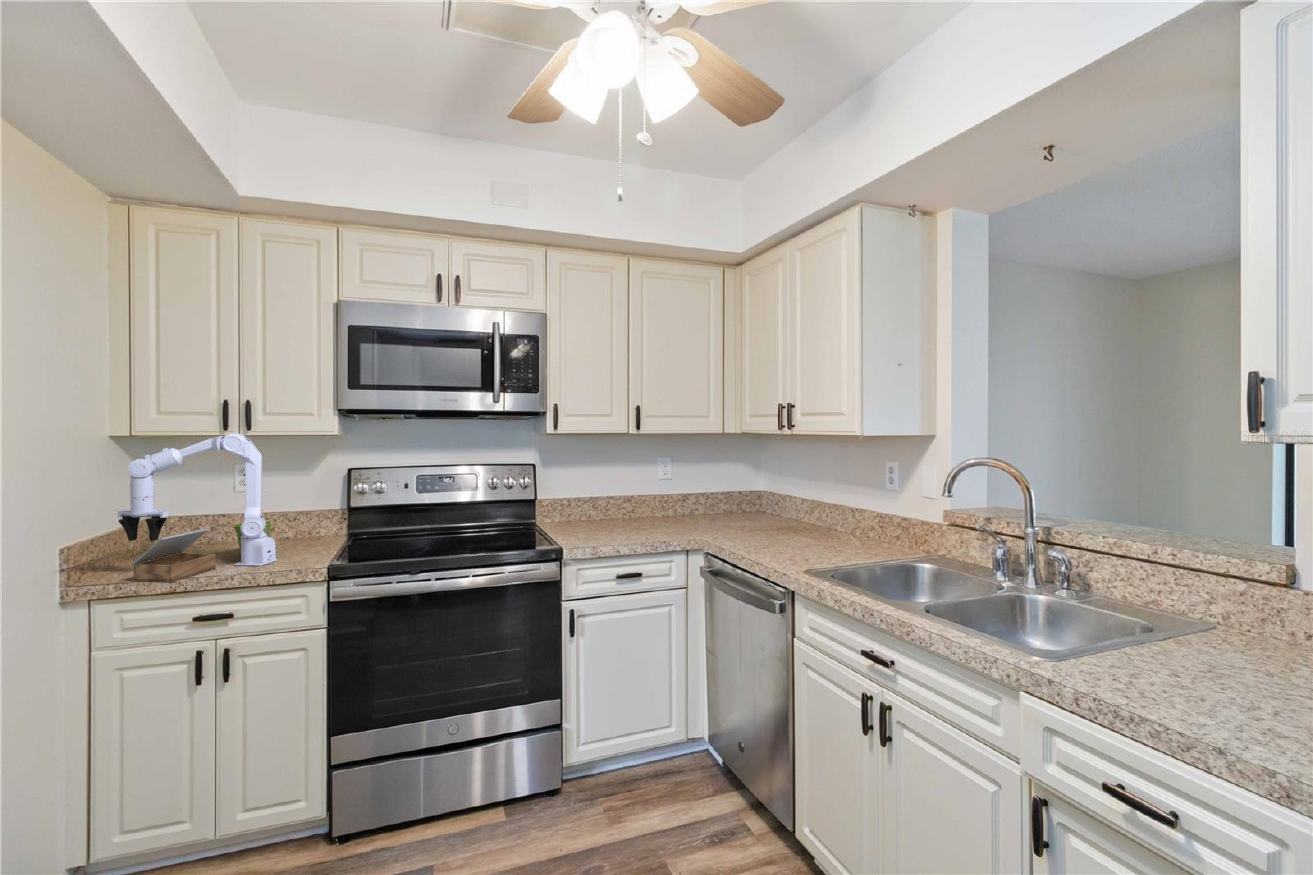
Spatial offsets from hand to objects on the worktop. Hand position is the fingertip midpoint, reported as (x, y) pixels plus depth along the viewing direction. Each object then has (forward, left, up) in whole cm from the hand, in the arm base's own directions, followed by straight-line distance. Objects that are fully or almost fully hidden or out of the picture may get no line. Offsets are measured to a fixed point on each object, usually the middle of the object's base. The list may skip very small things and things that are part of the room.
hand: (143, 540), depth 188 cm
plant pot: (-14, -28, -11) cm, 33 cm away
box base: (-12, +1, -10) cm, 16 cm away
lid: (-11, +1, -1) cm, 11 cm away
